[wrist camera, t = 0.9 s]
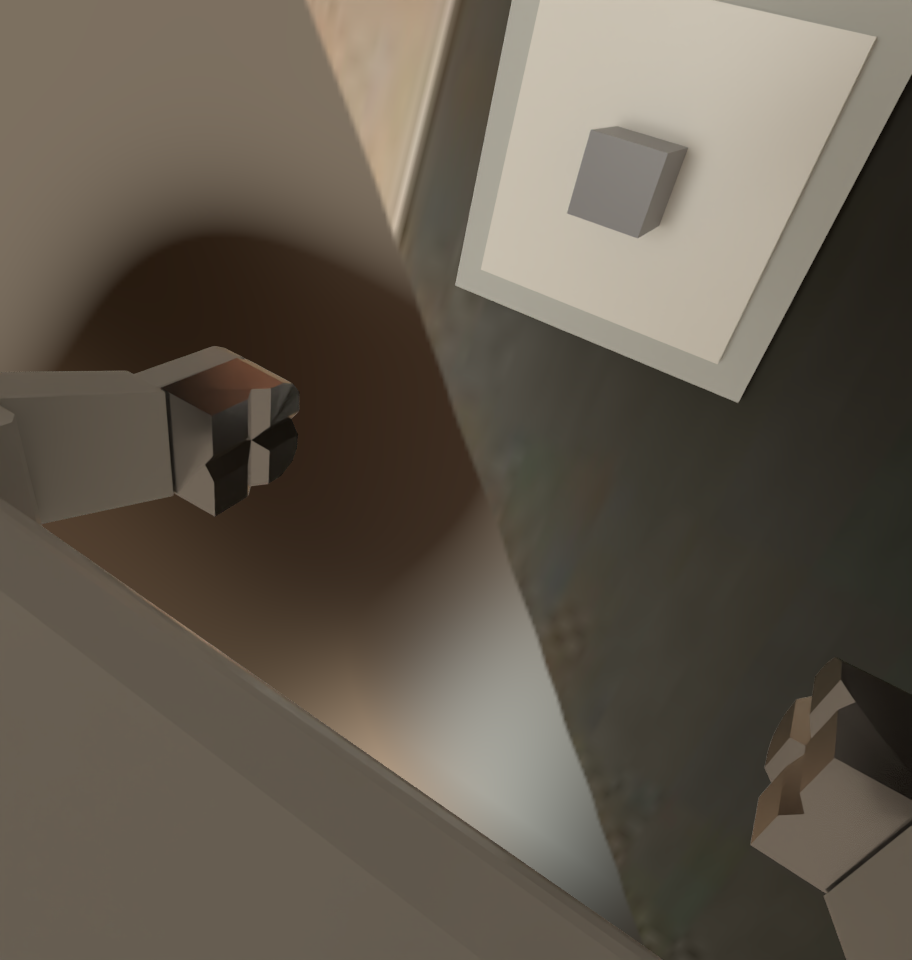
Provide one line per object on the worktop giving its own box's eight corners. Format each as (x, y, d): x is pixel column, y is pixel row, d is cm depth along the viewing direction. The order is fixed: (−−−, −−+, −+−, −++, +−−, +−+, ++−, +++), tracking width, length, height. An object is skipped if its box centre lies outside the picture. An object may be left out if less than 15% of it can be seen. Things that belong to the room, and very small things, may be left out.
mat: (538, -89, 34) (530, -92, 33) (953, -6, 28) (955, -8, 27) (462, 282, 46) (455, 285, 45) (741, 397, 40) (738, 402, 39)
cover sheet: (554, -35, 34) (513, -50, 30) (877, 37, 29) (873, 30, 25) (486, 267, 43) (449, 282, 40) (720, 360, 38) (701, 387, 35)
